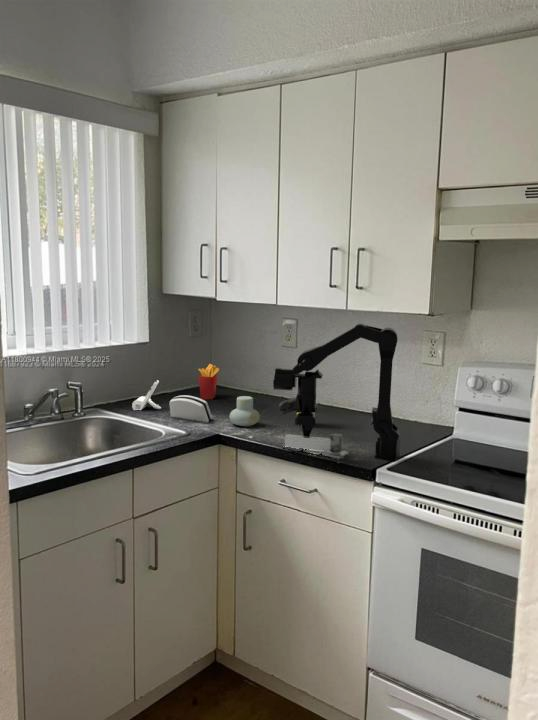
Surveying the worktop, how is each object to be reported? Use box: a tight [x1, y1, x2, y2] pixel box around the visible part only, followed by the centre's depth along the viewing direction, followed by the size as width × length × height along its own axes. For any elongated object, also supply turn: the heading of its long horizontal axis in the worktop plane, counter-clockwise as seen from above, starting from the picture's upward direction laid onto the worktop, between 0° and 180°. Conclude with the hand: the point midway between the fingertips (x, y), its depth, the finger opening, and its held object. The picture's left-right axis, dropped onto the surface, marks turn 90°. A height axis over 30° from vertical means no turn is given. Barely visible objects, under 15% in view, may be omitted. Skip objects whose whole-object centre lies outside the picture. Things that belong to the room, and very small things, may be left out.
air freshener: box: [229, 395, 260, 427], centre depth 240 cm, size 11×8×10 cm
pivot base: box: [321, 450, 350, 459], centre depth 205 cm, size 6×6×1 cm
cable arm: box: [284, 433, 343, 453], centre depth 207 cm, size 18×4×5 cm, turn 73°
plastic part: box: [131, 379, 162, 411], centre depth 261 cm, size 8×10×12 cm
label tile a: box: [306, 449, 325, 454], centre depth 208 cm, size 6×5×1 cm
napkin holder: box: [169, 394, 215, 423], centre depth 247 cm, size 17×5×10 cm, turn 62°
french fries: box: [197, 363, 220, 401], centre depth 283 cm, size 9×8×15 cm
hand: (306, 439), depth 209 cm, fingers closed
